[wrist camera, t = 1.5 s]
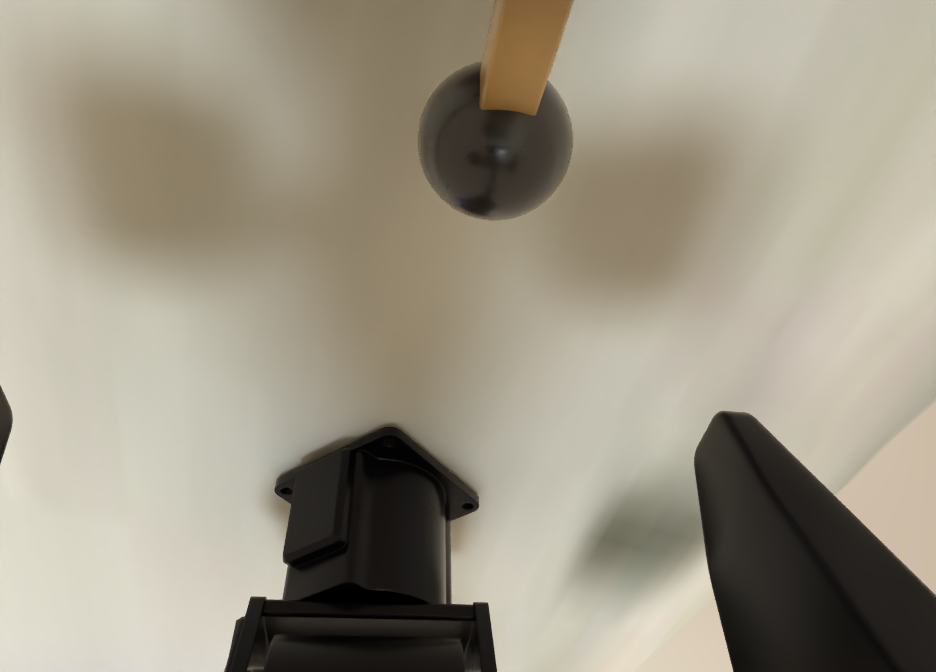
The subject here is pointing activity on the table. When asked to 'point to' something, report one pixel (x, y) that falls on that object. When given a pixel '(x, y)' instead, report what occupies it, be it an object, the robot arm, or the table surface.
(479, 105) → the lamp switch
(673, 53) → the table surface
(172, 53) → the table surface
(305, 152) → the table surface
